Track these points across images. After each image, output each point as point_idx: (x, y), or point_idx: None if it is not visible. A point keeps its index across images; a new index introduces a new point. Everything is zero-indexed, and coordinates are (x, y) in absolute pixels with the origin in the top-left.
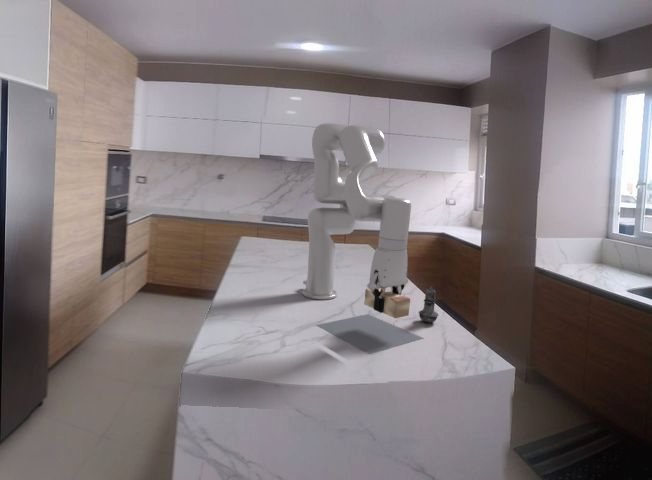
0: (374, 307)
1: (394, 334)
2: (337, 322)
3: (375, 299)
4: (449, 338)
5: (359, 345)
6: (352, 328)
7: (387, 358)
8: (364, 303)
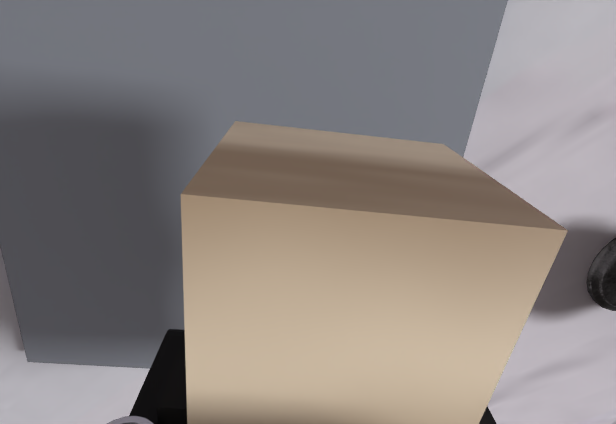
0: (171, 329)
1: None
2: None
3: (136, 410)
4: (513, 405)
5: (36, 281)
6: (164, 77)
7: (106, 388)
8: (234, 126)
